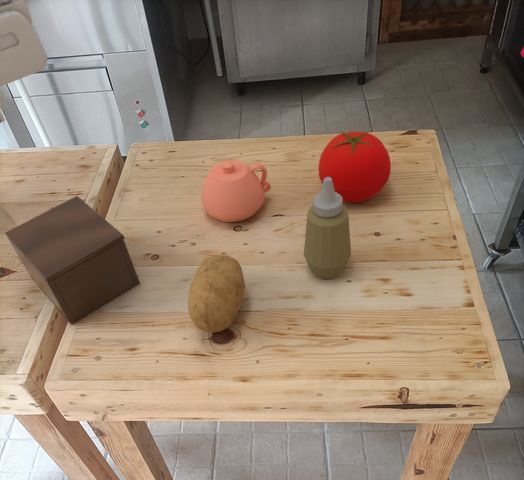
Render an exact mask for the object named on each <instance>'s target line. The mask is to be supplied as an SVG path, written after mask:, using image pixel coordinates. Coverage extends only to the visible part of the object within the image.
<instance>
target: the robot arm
mask: <svg viewBox="0 0 524 480" xmlns="http://www.w3.org/2000/svg"><path fill="white" fill-rule="evenodd" d="M32 23H33V22H32V15H31V13H30V9H29V7H28V4H27V3H26V1H25V0H0V87H2V86H5V85H8V84H11V83H13V82H16V81H18V80H20V79H23V78H26V77H28V76H31V75H33V74H36V73H39V72H41V71H44V70H45V69H47V64H48V57H47V54H46V51H45V49H44V47H43V45H42V43H41V41H40V39H39V37H38V35H37V33H36V31H35V30H34V28H33V26H32ZM2 101H3V93H2V91H1V90H0V124H1V123H4V122H6V119H5V117H4V115H3V113H2V111H1V109H2Z"/></svg>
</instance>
